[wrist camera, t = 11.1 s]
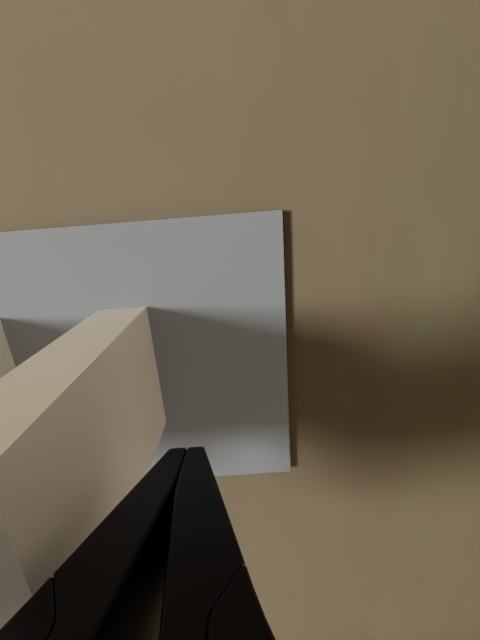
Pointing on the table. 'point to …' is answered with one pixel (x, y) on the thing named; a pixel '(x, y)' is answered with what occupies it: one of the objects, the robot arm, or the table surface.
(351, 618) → the table surface
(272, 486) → the table surface
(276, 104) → the table surface
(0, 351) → the domino
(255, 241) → the runner mat
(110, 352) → the domino
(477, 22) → the table surface
